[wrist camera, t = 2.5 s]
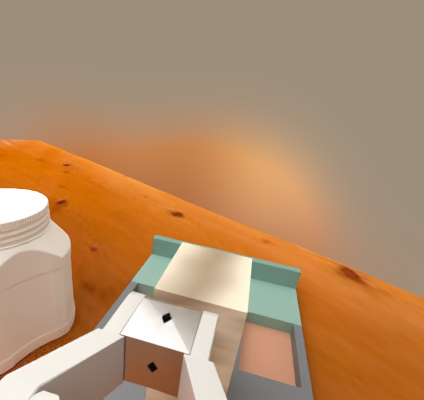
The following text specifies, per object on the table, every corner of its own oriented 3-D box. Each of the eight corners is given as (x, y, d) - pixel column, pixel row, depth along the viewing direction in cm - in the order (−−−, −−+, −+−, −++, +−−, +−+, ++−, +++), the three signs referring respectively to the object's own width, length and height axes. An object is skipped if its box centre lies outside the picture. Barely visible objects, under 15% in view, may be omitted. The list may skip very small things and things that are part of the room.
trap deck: (291, 294, 40) (300, 268, 38) (317, 487, 20) (338, 451, 18) (153, 260, 43) (155, 234, 41) (54, 397, 23) (49, 358, 21)
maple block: (226, 366, 26) (252, 258, 21) (215, 436, 20) (247, 313, 15) (169, 349, 27) (182, 242, 22) (144, 413, 21) (154, 288, 16)
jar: (50, 281, 36) (39, 179, 30) (90, 319, 31) (85, 206, 25) (-69, 335, 26) (-116, 202, 21) (-37, 400, 22) (-88, 251, 16)
